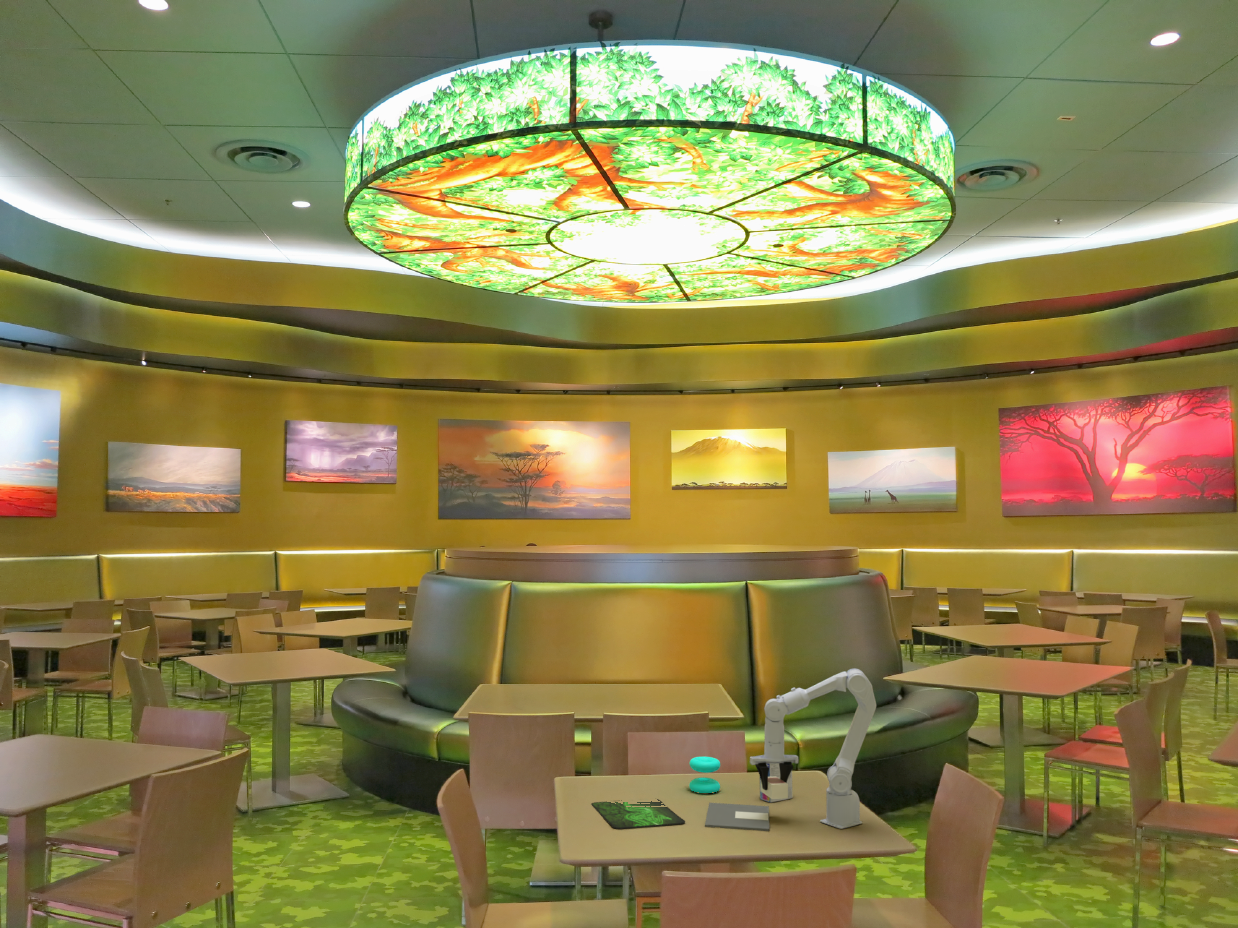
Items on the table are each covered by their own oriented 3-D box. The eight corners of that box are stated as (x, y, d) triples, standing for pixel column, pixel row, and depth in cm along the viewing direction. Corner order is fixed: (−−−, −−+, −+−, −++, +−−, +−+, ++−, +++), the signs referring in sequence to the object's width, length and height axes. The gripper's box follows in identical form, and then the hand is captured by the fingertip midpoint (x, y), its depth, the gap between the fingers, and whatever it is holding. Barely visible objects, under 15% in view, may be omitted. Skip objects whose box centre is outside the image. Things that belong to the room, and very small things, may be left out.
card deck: (776, 790, 271) (776, 776, 272) (787, 798, 263) (788, 783, 263) (760, 790, 270) (760, 776, 271) (771, 798, 262) (771, 784, 262)
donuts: (687, 761, 292) (692, 754, 302) (686, 793, 292) (691, 785, 301) (718, 763, 290) (722, 756, 300) (718, 796, 289) (721, 787, 299)
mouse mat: (588, 803, 280) (588, 800, 280) (656, 798, 286) (656, 795, 286) (614, 831, 254) (614, 827, 254) (687, 825, 260) (687, 821, 260)
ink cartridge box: (781, 794, 293) (781, 748, 294) (793, 798, 288) (793, 751, 289) (758, 798, 287) (758, 751, 288) (770, 803, 283) (770, 755, 284)
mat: (768, 808, 277) (768, 805, 277) (769, 830, 256) (769, 828, 256) (709, 804, 280) (709, 802, 280) (704, 826, 258) (704, 824, 258)
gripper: (791, 737, 274) (791, 783, 272) (746, 738, 270) (745, 785, 269) (801, 742, 267) (801, 790, 266) (755, 744, 263) (754, 792, 262)
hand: (773, 788), depth 267 cm, fingers closed on card deck, 5 cm apart
